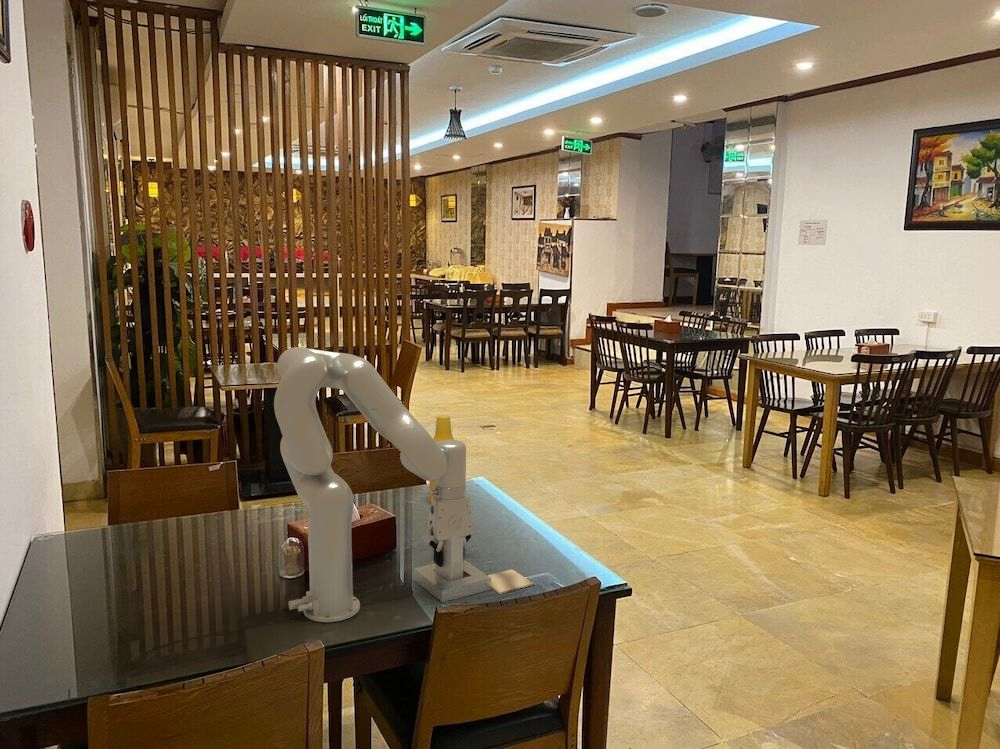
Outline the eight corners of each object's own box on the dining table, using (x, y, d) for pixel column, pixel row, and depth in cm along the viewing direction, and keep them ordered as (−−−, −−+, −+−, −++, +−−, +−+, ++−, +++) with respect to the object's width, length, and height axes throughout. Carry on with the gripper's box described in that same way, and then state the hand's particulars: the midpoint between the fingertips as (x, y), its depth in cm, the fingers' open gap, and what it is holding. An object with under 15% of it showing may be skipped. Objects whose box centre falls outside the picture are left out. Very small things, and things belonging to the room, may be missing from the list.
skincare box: (463, 580, 187) (464, 533, 186) (450, 585, 184) (451, 538, 183) (447, 573, 191) (447, 527, 190) (434, 578, 188) (434, 531, 187)
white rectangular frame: (441, 602, 178) (441, 590, 178) (413, 579, 191) (413, 568, 190) (491, 589, 185) (491, 577, 185) (460, 568, 198) (460, 557, 197)
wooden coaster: (499, 594, 182) (499, 592, 182) (478, 579, 191) (478, 577, 191) (534, 585, 188) (534, 583, 188) (511, 571, 196) (511, 569, 196)
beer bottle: (426, 506, 246) (425, 418, 242) (433, 497, 256) (433, 413, 251) (454, 508, 245) (454, 420, 241) (460, 499, 254) (460, 414, 250)
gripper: (425, 500, 177) (424, 575, 180) (488, 490, 186) (486, 561, 189) (411, 492, 183) (410, 564, 186) (472, 482, 192) (471, 551, 195)
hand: (449, 562), depth 187 cm, fingers closed on skincare box, 5 cm apart
